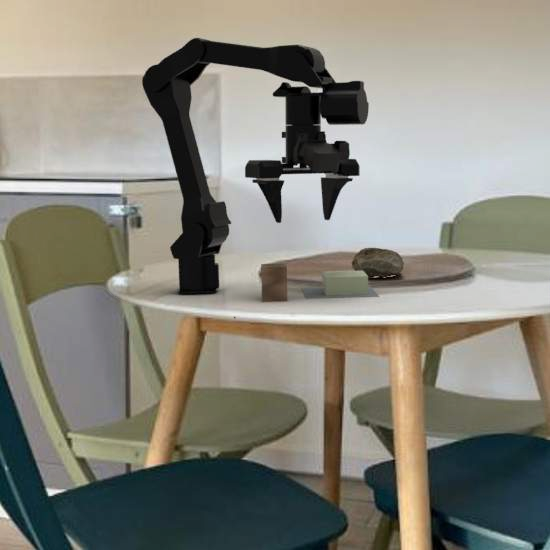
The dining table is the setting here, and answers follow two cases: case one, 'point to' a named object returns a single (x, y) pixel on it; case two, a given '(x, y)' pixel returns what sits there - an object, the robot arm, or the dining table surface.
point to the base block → (345, 282)
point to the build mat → (319, 293)
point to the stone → (378, 262)
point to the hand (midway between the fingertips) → (303, 221)
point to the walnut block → (274, 282)
